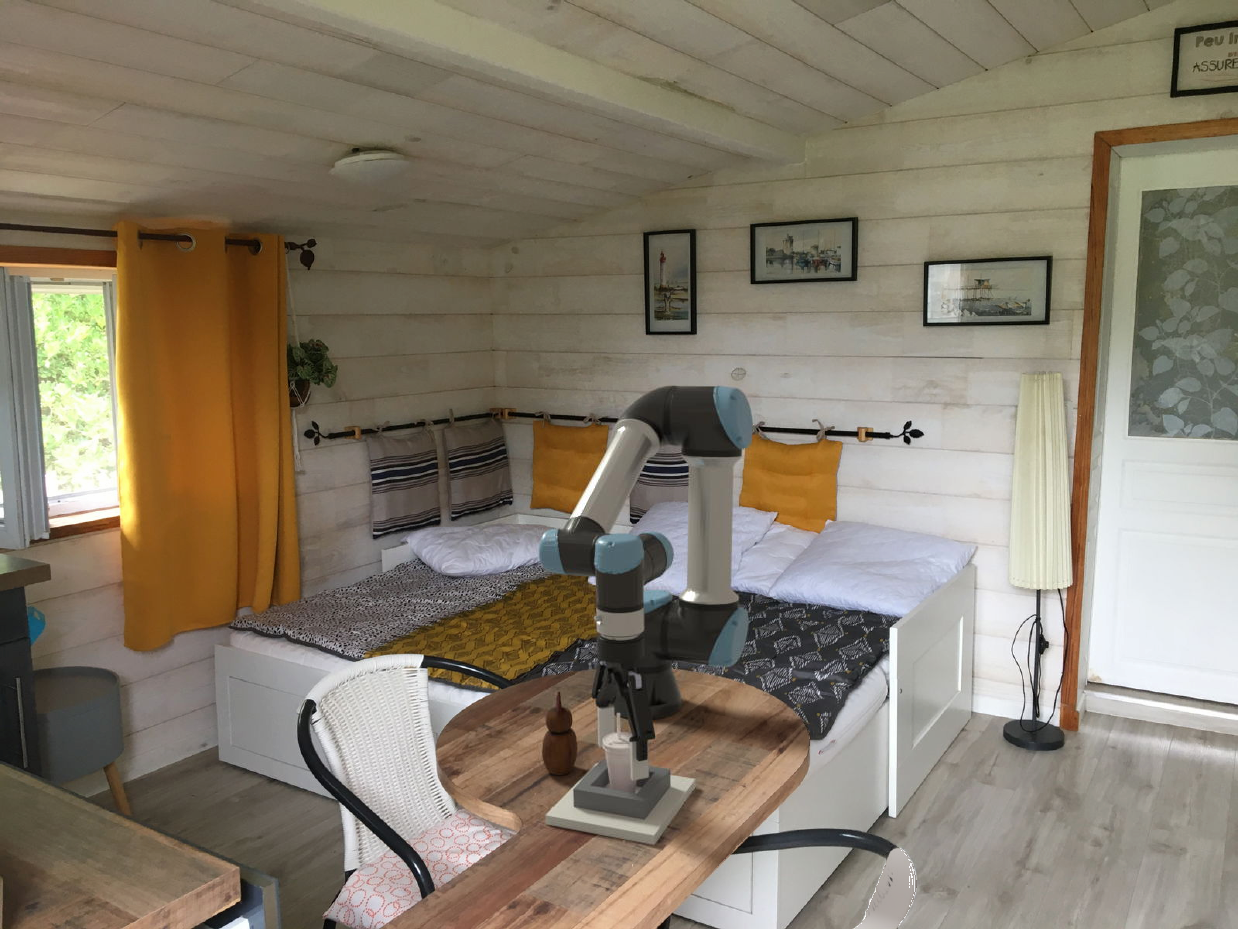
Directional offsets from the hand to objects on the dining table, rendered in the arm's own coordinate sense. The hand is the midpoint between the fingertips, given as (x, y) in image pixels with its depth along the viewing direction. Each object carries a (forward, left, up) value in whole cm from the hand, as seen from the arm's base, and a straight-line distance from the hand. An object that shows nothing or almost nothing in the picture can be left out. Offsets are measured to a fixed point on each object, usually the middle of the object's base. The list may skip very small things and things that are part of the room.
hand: (622, 761), depth 164 cm
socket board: (0, 0, -8) cm, 8 cm away
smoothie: (0, 0, -6) cm, 6 cm away
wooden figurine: (-8, -15, -8) cm, 19 cm away
